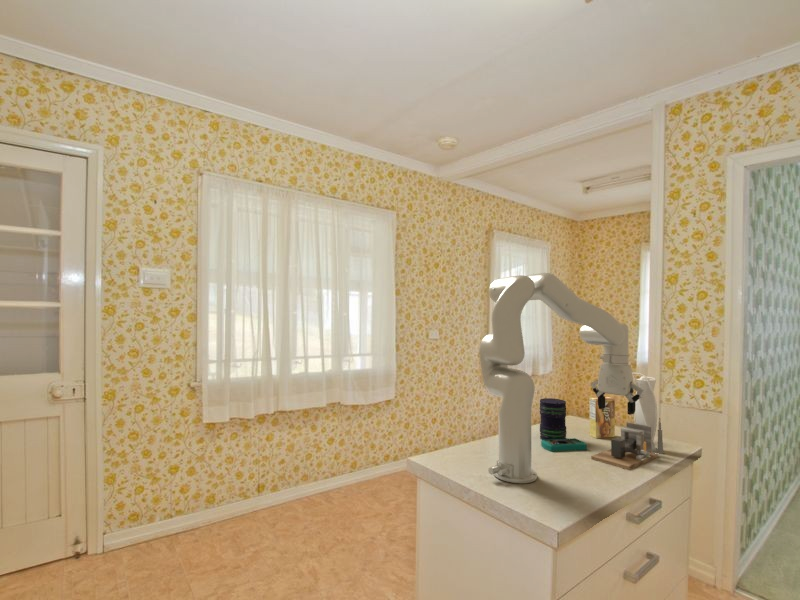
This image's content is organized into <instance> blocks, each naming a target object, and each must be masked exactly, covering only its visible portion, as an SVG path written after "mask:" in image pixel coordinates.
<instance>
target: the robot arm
mask: <svg viewBox="0 0 800 600" xmlns="http://www.w3.org/2000/svg"><path fill="white" fill-rule="evenodd" d="M488 294H489V297H490V299H491V300H492V301H493V302H494V303H495V304H494V306H493V309H492V312H491V329H492V333H488V334H486V335H485V336H484V337H483V338H482V339H481V341H480V344H479V348H478V351H479V352H478V353H479V354H478V356H479V362H480V367H481V368H480V370H481V375H482V381H483V385H484V387H485V389H486V390H487V392H488V393H489V394H491V395H493V396H495V397H498V398H502V400H501V404H500V407H499V410H498V419H497V420H498V460H496V465H494V466H490V467H489V468H488V470H487V471H488V474H490V475H491V476H492V475H494V476H495V477H496V478H497V479H499V480H501V481H504V482H507V483H512V484H530V483H533V482H535V481H537V479H538V474H537V472H536V471H535V470H534V469H532V410H533V409H532V407H533V401H534V395H535V389H536V387H535V383H534V380H533V377H532V376H530V374H529V373H527V372H525V371H523V370H521V369H516V368H512V366H518V365H519V364H521V363H522V362H523V361H524V359H525V344H524V336H523V329H522V322H521V321H522V319H521V316H522V313H523V310H524V308H525V306H526V305H527V303H528V302H529V301H541V302H542V303H544V304H545V306H547V307H549V309H550V310H552V311H553V312H554V313H555V314H556V315H557V316H558V317H560V318H561V319H563V320H565V321H568V322H571V323H575V324H578V325H582V326H581V327H580V328H579V332H578V333H579V337H580V339H581V341H582V342H584V343H586V344H588V345H593V346H603V350H602V352H603V353H602V355H601V354H600V356H599V358H600V360H602V362H601V363H600V366H599V370H598V377H597V378H598V379H596V380H595V381H591V382H590V386H591V388H592V391H593V393H594V394H595V396H596V398H598V406H599V409H603V408H605V397H606V396H605V395H606V394H609V395H616V396H622V397H623V396H625V397H626V399H627V400H628V401H627V415H629V416H630V415H634V412H635V402H636V401H637V400H638V399H640V398H641V396H642V394H643V392H644V390H643V389H642V388H640V387H639V386H637V385H635V382H634V378H633V374H632V373H633V370H632V367H631V366H632V365H631V364H629V359H630V358H629V326H628V324H626V323H622V322H621V323H620V322H619V321H618V320H617V319H616V318H615V317H614V316H613V315H612V314H611V313H609V312H608V311H606V310H604V309H602V308H601V307H598V306H597V305H594V304H593V303H591V302H588V301H586V300H584V299H582V298H580V297H579V296H578V295H577V294H576V293H574V291H572V289H570V288H569V286H567V285H566V284H565V283H564V282H563V281H562V280H561V279H560V278H559V277H557V276H556V275H555V274H553V273H551V272H542V273H533V274H528V275H520V274H519V275H512V276H505V277H501V278H496V279H495V280H493V282H491V283H490V285H489V288H488ZM509 366H511V367H509ZM634 391H636V392H637V394H636V393H635V395H634Z"/></svg>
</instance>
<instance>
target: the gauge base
mask: <svg viewBox="0 0 800 600" xmlns="http://www.w3.org/2000/svg"><path fill="white" fill-rule="evenodd" d="M628 438H633V439H636V445H637V449H635V450H639V454H635V453H631V452H626V453H625V457H622V458H618V457H614V456H611V448H610V449H608V450H605V451H602V452H599V453H597V454H593V455H591V456H590V459H591V460H593V461H597V462H599V463H604V464H606V465H610V466H613V467H616V468H621V469H624V470H627V471H628V470H632V469H633V467H634V468H636V467H638V466H641V465H643V464H646V463H647V462H650V461H652V460H655V459H656V458H659V454H655V453H652V447H651V427H649V426H644V425H639V424H635V422H634V423H633V422H628V421H627V422H626V426H623V427H620V439H624V440H625V439H628ZM644 442H646V451H647V454H646V455H644V454H641V453H640V450H644Z"/></svg>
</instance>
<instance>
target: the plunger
mask: <svg viewBox="0 0 800 600" xmlns="http://www.w3.org/2000/svg"><path fill="white" fill-rule="evenodd" d="M610 449H611V456H614V457H618V458H622V457H625V453H626V452H631V453H635V454H639V450H635V449H637V445H636V439H633V438H628V439H625V440H624V439H621V438H619V437H612V438H611V439H610Z"/></svg>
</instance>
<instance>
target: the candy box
mask: <svg viewBox="0 0 800 600" xmlns="http://www.w3.org/2000/svg"><path fill="white" fill-rule="evenodd" d="M615 402H616V400H615V398H613V397H609V396H605V408H603V409H599V406H598V397H589V436H590V437H593V438H595V439H601V438H616V433H615V431H616V428H615V427H616V423H615V420H616V419H615V417H616V415H615V412H616V410H615V406H616V405H615Z"/></svg>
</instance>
